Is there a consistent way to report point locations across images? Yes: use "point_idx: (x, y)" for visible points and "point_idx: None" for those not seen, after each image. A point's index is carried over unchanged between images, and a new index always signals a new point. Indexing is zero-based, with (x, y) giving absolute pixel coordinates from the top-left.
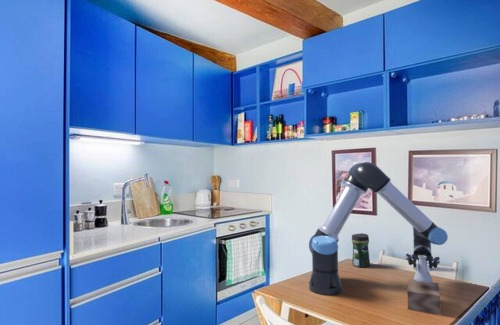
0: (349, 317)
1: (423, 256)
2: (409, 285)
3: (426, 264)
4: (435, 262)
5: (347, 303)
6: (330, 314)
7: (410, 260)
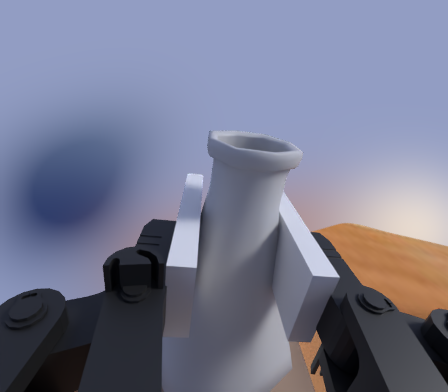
0: (343, 233)
1: (243, 159)
2: (293, 351)
3: (203, 210)
4: (42, 298)
5: (416, 292)
6: (376, 234)
7: (423, 320)
